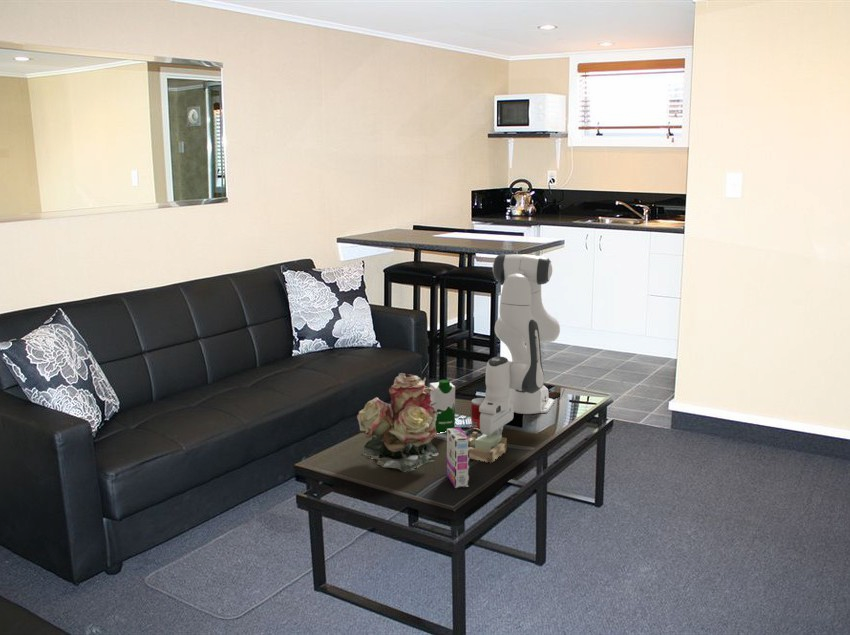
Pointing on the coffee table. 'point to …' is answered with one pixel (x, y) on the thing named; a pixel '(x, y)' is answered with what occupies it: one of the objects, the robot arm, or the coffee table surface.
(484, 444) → the pale green box
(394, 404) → the rose bouquet
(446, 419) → the milk carton
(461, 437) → the candy bar box
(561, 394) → the coffee table surface
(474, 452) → the frame
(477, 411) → the canned food
